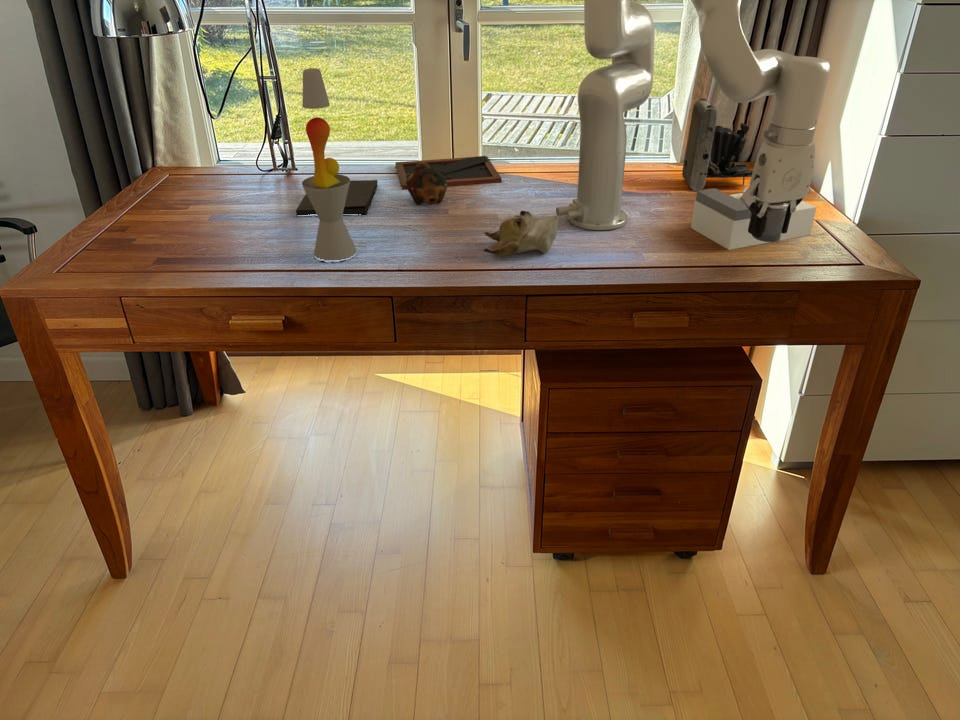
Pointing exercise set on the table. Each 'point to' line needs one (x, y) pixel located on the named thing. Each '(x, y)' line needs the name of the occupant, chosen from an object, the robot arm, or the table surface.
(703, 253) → the table surface
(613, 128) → the robot arm
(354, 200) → the dark brown rectangular slab
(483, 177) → the picture frame
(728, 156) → the vintage camera
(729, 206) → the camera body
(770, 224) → the silver grey short cylinder
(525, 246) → the ceramic sculpture
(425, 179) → the brown rounded lump
